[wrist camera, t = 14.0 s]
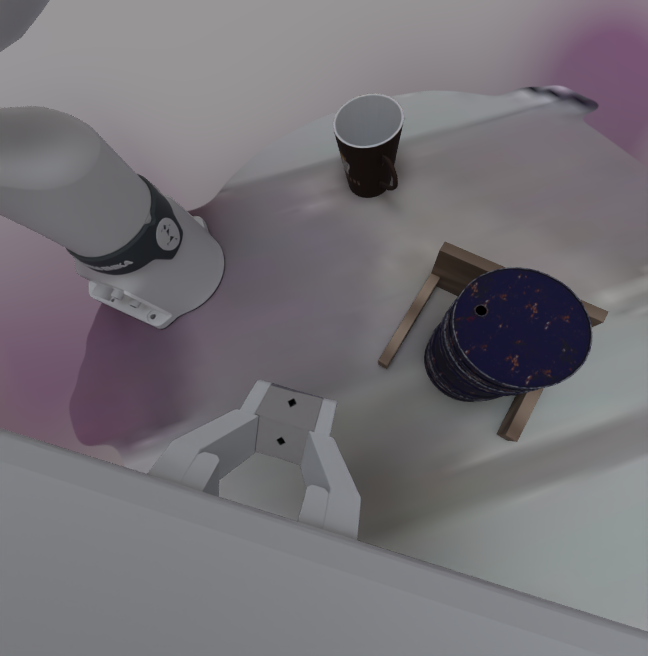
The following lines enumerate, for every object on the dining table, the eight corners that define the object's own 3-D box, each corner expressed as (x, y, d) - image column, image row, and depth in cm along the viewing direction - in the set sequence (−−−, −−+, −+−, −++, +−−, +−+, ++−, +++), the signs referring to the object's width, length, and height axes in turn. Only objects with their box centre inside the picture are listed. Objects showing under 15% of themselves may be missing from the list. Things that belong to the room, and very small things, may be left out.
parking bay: (507, 440, 34) (544, 445, 27) (378, 364, 39) (378, 350, 31) (560, 334, 37) (608, 311, 29) (432, 274, 41) (445, 241, 34)
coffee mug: (342, 160, 49) (334, 98, 40) (397, 155, 48) (403, 89, 38) (339, 222, 46) (330, 171, 36) (399, 219, 45) (405, 165, 35)
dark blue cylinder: (521, 341, 37) (611, 292, 23) (493, 418, 35) (573, 415, 21) (440, 310, 40) (475, 249, 26) (410, 380, 38) (431, 355, 24)
